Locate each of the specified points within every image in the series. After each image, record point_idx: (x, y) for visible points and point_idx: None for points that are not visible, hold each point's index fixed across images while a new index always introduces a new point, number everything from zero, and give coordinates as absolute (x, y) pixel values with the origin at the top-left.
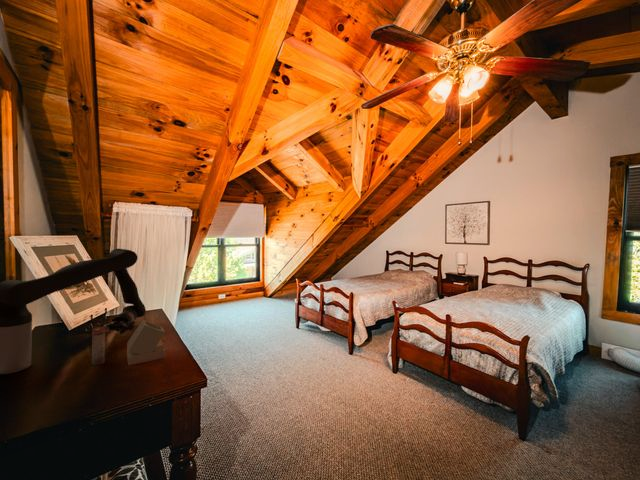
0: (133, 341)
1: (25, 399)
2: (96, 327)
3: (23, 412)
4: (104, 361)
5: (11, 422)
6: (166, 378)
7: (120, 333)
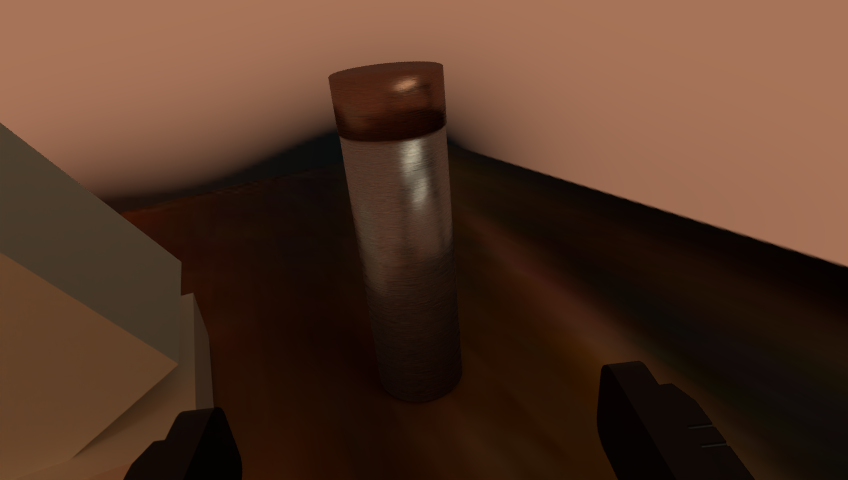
0: (117, 224)
1: (526, 190)
2: (423, 71)
3: (474, 168)
4: (381, 382)
5: (469, 155)
6: None
7: (235, 458)
